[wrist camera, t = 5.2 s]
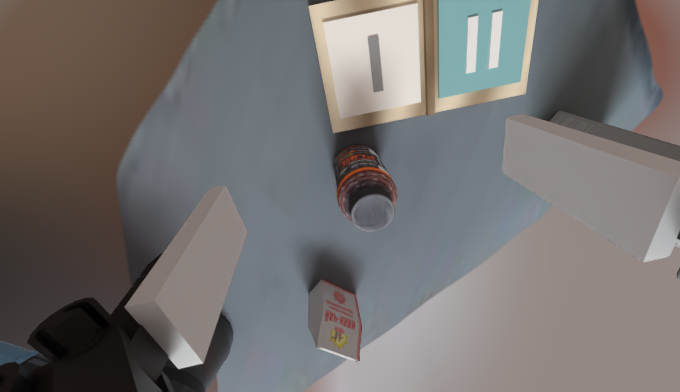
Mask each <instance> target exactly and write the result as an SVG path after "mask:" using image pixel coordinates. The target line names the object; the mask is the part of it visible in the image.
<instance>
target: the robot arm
mask: <svg viewBox="0 0 680 392" xmlns="http://www.w3.org/2000/svg"><path fill="white" fill-rule="evenodd" d="M502 173H504V174H505V175H507V176H508V177H510V178H512V179H513V180H515V181H516V182H518V183H519V184H521V185H523V186H524V187H526V188H527V189H529V190H530V191H532V192H533V193H535V194H537V195H538V196H540V197H541V198H543V199H544V200H546V201H548V202H549V203H551V204H552V205H554V206H555V207H557V208H558V209H560V210H562V211H563V212H565V213H566V214H568V215H570V216H571V217H573V218H574V219H576V220H577V221H579V222H581V223H582V224H583V225H585V226H587V227H589V228H590V229H591V230H593V231H594V232H596V233H598V234H599V235H601V236H602V237H604V238H605V239H607V240H609V241H610V242H612V243H613V244H615V245H616V246H618V247H619V248H621V249H623V250H624V251H626V252H627V253H629V254H630V255H632V256H634V257H635V258H637V259H638V260H640V261H641V262H647V261H652V260H656V259H661V258H664V257H669V256H670V254H671V251H672V250H673V247H674V245H675V243H676V241H677V239H679V240H680V161H677V160H674V159H670V158H667V157H664V156H660V155H657V154H654V153H650V152H647V151H644V150H641V149H637V148H634V147H631V146H627V145H624V144H621V143H617V142H614V141H611V140H608V139H604V138H601V137H598V136H594V135H591V134H588V133H584V132H581V131H578V130H575V129H571V128H568V127H565V126H561V125H558V124H555V123H551V122H548V121H545V120H542V119H538V118H535V117H532V116H528V115H525V114H520V115H516V116H512V117H508V118H506V129H505V142H504V154H503V167H502ZM246 235H247V230H246V228H245V226H244V224H243V222H242V220H241V217H240V215H239V213H238V211H237V209H236V207H235V204H234V202H233V200H232V198H231V196H230V194H229V192H228V189H227V187H226V185H223V186H219V187H214V188H210V189H209V190H208V191H207V193H206V194H205V195H204V197H203V198H202V200H201V201H200V202H199V204H198V205H197V207H196V208H195V209H194V211H193V212H192V213H191V215H190V216H189V218H188V219H187V220H186V222H185V223H184V225H183V226H182V227H181V229H180V230H179V232H178V233H177V234H176V236H175V237H174V239H173V240H172V241H171V243H170V244H169V246H168V247H167V248H166V250H165V251H164V253H161V254H160V255H159V256H158V257H157V258H155V259H154V260H153V261H152V262H151V263H150V264H148V266H147V267H146V268H145V270H144V271H143V272H142V274H141V275H140V278H138V279H137V280H136V282H135V283H134V285H133V287H132V288H131V289H130V290H129V291H128V293H127V294H126V295H125V297H124V298H123V299H122V301H121V302H120V303H119V305H118V306H117V307H116V309H115V310H114V311H113V313H112V314H111V315H110V314H109V313H108V312H107V311H106V310H105V309H104V308H103V307H102V306H101V305H100V304H99V303H98V302H97V301H96V300H95V299H94V298H84V299H81V300H77V301H75V302H73V303H71V304H69V305H67V306H64V307H63V308H61V309H60V310H58V311H57V312H55V313H53V314H52V315H50V316H49V317H48V318H47V319H45V320H44V321H43V322H42V323H41V324H40V325H39V326H38V327H37V328H36V329H35V330H34V331H33V332H32V334H31V335H30V337H29V339H28V341H27V343H28V344H29V345H31V346H32V347H33V348H34V349H36V350H35V351H30V350H27V349H24V348H21V347H18V346H15V345H12V344H9V343H6V342H3V341H0V392H206V390H207V388H208V387H209V385H210V383H211V382H212V380H213V379H214V377H215V376H216V374H217V372H218V371H219V369H220V367H221V365H222V364H223V362H224V361H225V360H226V358H227V357H228V354H229V352H230V348H231V344H232V341H233V332H232V328H231V326H230V325H229V323H228V322H227V321H226V320H225V319H224V318H223V317H222V316H221V315H220V313H221V310H222V307H223V304H224V301H225V298H226V295H227V292H228V289H229V286H230V283H231V280H232V277H233V274H234V271H235V268H236V265H237V262H238V259H239V256H240V253H241V250H242V247H243V244H244V241H245V238H246ZM677 278H679V279H680V269H679V270H678V272H677ZM39 353H40V354H39ZM41 354H42V355H41Z"/></svg>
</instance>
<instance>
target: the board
mask: <svg viewBox="0 0 680 392" xmlns="http://www.w3.org/2000/svg"><path fill="white" fill-rule="evenodd" d="M416 3H418V28H419V56H420V85H421V102H420V103H415V104H410V105H405V106H400V107H395V108H390V109H385V110H380V111H376V112H371V113H366V114H361V115H356V116H351V117H346V118H341V119H340V118H339V112H338V107H337V101H336V95H335V90H334V84H333V78H332V73H331V67H330V62H329V56H328V50H327V45H326V39H325V33H324V28H323V22H328V21H333V20H337V19H342V18H347V17H352V16H357V15H362V14H367V13H372V12H377V11H382V10H386V9H391V8H396V7H401V6H406V5H411V4H416ZM537 7H538V0H531V2H530V10H529V18H528V26H527V34H526V42H525V50H524V57H523V65H522V73H521V81H520V82H517V83H512V84H507V85H503V86H498V87H493V88H488V89H483V90H478V91H473V92H468V93H464V94H459V95H454V96H449V97H444V98H438V18H437V0H335V1H330V2H325V3H320V4H315V5H310V6H309V13H310V18H311V23H312V28H313V33H314V38H315V44H316V49H317V54H318V59H319V64H320V69H321V74H322V80H323V85H324V90H325V95H326V100H327V105H328V111H329V116H330V121H331V126H332V131H333V133H337V132H342V131H347V130H352V129H357V128H362V127H367V126H371V125H376V124H381V123H386V122H391V121H396V120H401V119H406V118H411V117H415V116H420V115H425V114H426V115H433V114H435V112H440V111H445V110H450V109H454V108H459V107H464V106H469V105H474V104H479V103H484V102H489V101H494V100H498V99H503V98H508V97H513V96H518V95H523V94H526V87H527V80H528V72H529V65H530V58H531V51H532V44H533V36H534V29H535V22H536V15H537Z"/></svg>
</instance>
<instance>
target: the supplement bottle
mask: <svg viewBox="0 0 680 392" xmlns="http://www.w3.org/2000/svg"><path fill="white" fill-rule="evenodd" d="M333 175H334V182H335V188H336V194H337V200H338V205H339V208H340V210H341V212H342V213H343V215H344V216H345V217H346V218H348V219H349V220H350V221H352V222H353V223H354V225H355V226H356V227H358V228H359V229H361V230H363V231H368V232H374V231H379V230H381V229H383V228H385V227H386V226H388V225H389V223H390V222H391V221H392V219H393V217H394V214H395V208H394V207H395V204H396V201H397V190H396V186H395V184H394V182H393V181H392V179H391V177H390V175H389V174H388V172H387V170H386V169H385V167H384V165H383V164H382V162H381V160H380V159H379V157H378V155H377V154H376V153H375V152H374V151H373V150H372V149H370V148H369V147H366V146H363V145H353V146H349V147H347V148H345V149H343V150H342V151H341V152H340V153H339V154H338V155H337V157H336V158H335V160H334V164H333Z"/></svg>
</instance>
